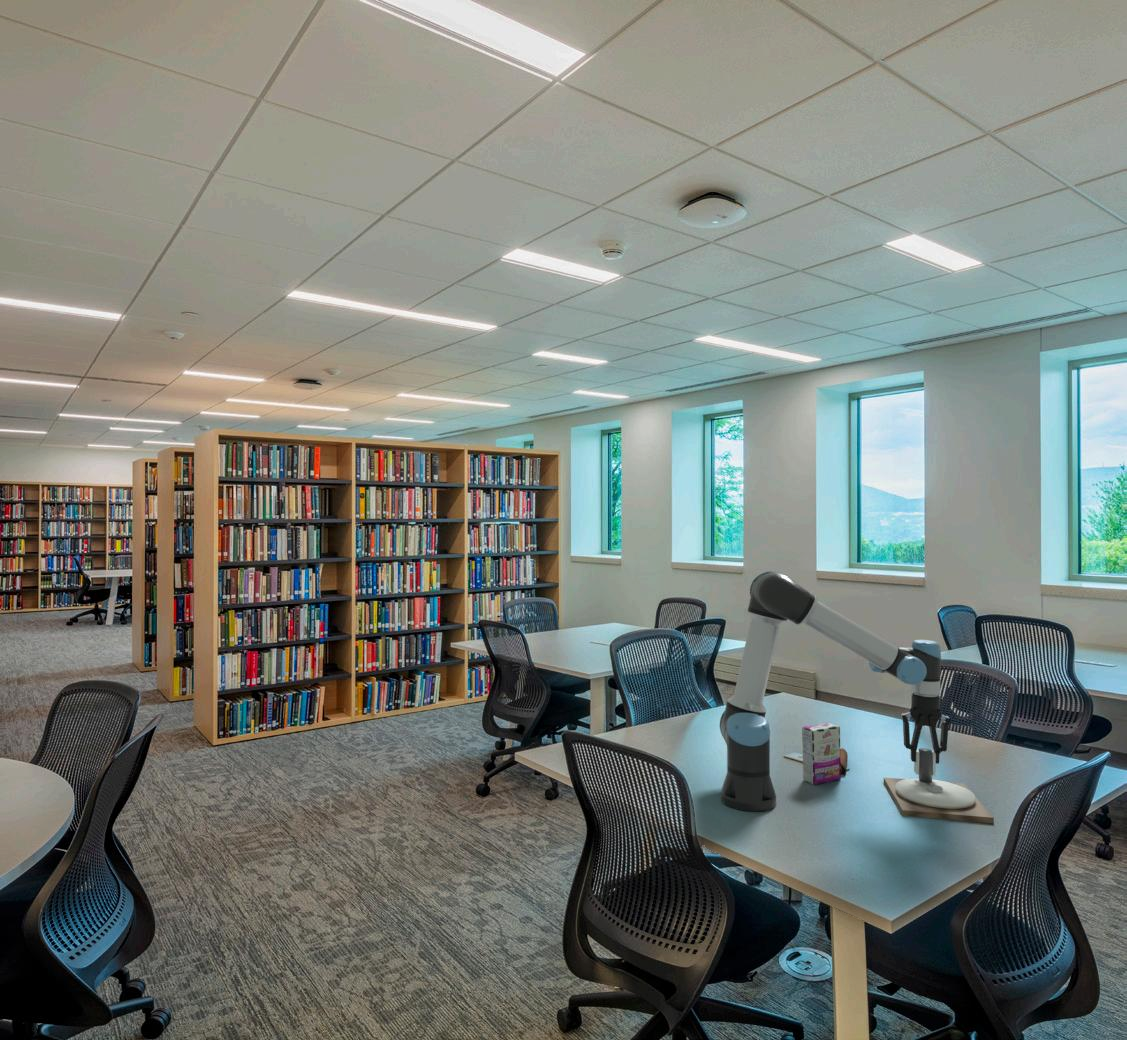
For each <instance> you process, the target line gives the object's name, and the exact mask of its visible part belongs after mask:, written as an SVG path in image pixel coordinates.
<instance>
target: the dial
mask: <svg viewBox="0 0 1127 1040" xmlns="http://www.w3.org/2000/svg"><path fill="white" fill-rule="evenodd" d="M918 751H919V774H918V778H904V779H905V780H901V781H899V782H897V783H896V792H897V794H898V795H900V796H901V797H903V798H905V799H907V800H909V801H912V802H915V803H918V804H921V805H925V806H930V807H936V808H946V809H960V808H967V807H970V806H972V805H974V804H975V797H976V794H975V793H973V792H972V790H970V789H969V788H968V789H969V790H968V789H966V788H964V787H962V786H959V785H956V784H953V783H954V782H952V783H949V781H944V780H940V779H939V780H938V779H933V775H932V751H933V750H931V749H929V748H925V747H921V748H918Z"/></svg>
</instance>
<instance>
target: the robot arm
mask: <svg viewBox="0 0 1127 1040" xmlns="http://www.w3.org/2000/svg"><path fill="white" fill-rule="evenodd" d="M750 584H751V585H750V587H749V595H750V597H749V598H750V600H749V603H748V607H747V613H748V615H749V617H750V624H749V626H748V631H747V635H746V641H745V645H744V649H743V654H742V656H741V657H742V658H741V663H740V666H739V672H738V675H737V679H736V680H737V681H736V684H735V689H734V693H733V695H731V697H729V698H727V701H726V705H725V709H724V711H723V713H722V714H721V716H720V719H719V730H720V734H721V736H722V738H723V739H724V742H725V744H726V749H727V750H726V761H727V762H726V767H727V768H726V771H727V772H726V775H725V777H724V781H723V782H722V783H723V785H722V786H721V791H720V800H721V802H722V803H723V804H724V805H726V806H727V807H730V808H732V809H736V810H741V811H747V812H764V811H768V810H771V809H773V808H775V807H776V806H777V794H776V791H775V787H774V785H773V782H772V778H771V775H770V773H771V771H770V770H771V769H770V768H771V767H770V766H771V764H770V763H771V762H770V760H771V759H770V758H771V755H770V751H771V750H770V749H771V747H770V746H771V745H770V744H771V742H770V741H771V740H770V739H771V738H770V737H771V729H770V724H769V722H768V720H767V719H766V714H767V709H766V707H765V705H764V699H765V694H766V690H767V685H768V680H769V676H770V672H771V666H772V662H773V657H774V654H775V649H776V647H777V646H776V645H777V642H778V636H779V631H780V628H781V626H782V625H783V624H785V623H787V620H788V621H790V622H792V623H794V624H795V625H797V626H799V625H804V626H806V627H808V628H810V629H811V630H814V632H816V633H818V634H820V635H822V636H823V637H825V638H827V639H828V640H830V641H833V642H834V643H836V644H837V645H839V646H841V647H843V648H844V649H846V650H848V651H849V652H851V653H853V654H854V655H856V656H858V657H860V658H862V659H863V660H865V661H867V662H868V665H869V669H870V670H871V671H872V672H873V673H881V674H883V673H885V674H889V675H891V676H893V677H894V678H895V679H897V680H899V681H901V682H902V683H903V684H906V685H911V691H912V693H911V699H910V700H911V702H910V703H911V706H910V709H909V711H908V712H905V713H904V712H901V713H900V715H899V716H900V718H901V721H902V729H903V730H902V732H903V733H902V734H903V735H902V736H903V745H904V747H905V748H906V749H908V750H910V760H911V762H913V772H914V773H915V775H919V749H918V746H919V741H920V738H921V732H922V730H923V727H926V726H927V727H928V728H929V734H930V737H931V742H932V743H931V744H932V749H933V750H932V777H933V776H934V777H936V767H937V764H939V763H940V754H941V753H942V752H946V751H947V750H948V748H947V747H948V736H949V726H950V724H951V721H952V719H951V718H950V717H949V716H948V715H944V714H942V712H941V696H940V694H941V665H942V664H941V662H942V660H941V659H942V655H941V653H942V652H941V650H942V649H941V645H940V643H939V642H937V641H935V640H930V639H929V640H928V639H915V640H913V641H912V643H911V646H907V647H903V646H901V647H900V646H897V645H895V644H893V643H891V642H889V641H888V640H886V639H885V638H882V637H881V636H879V635H877V634H876V633H874V632H872V631H870V630H868V629H867V628H865V627H863V626H861V624H859V623H856V622H854V621H853V620H851V619H849V618H848V617H846V616H845V615H843V614H841V613H839V612H837V611H835V610H833V609H832V608H830V607H829V606H827V605H825V604H824V603H822V602H820V601H818V600H817V596H816V595H815V594H813V593H812V592H810V591H808V590H806V589H805V588H804V587H803V586H801V585H800V584H799V583H797V582H796V581H795V580H793V579H792V578H791V577H789V576H788V575H785V574H783V573H779V572H777V571H771V570H770V571H764V572H762V573H759V574H758V575H757V576H755V578H754V579H753V580H752V581H751V583H750ZM911 717H912V719H913V720H914V722H915V723H914V729H913V733H912V737H910V735H911V733H910V721H911ZM939 720H940V722H941V724H940V725H941V727H940V741H939V739H938V738H939V737H938V734H937V727H936V724H937V723H938V721H939Z"/></svg>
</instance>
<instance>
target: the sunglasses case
mask: <svg viewBox="0 0 1127 1040" xmlns="http://www.w3.org/2000/svg"><path fill="white" fill-rule="evenodd" d="M840 757H841V758H840V759H841V776H845V775H846V773H847V767H848V765H847V763H848V752H847V750H846V749H844V748H842V747H841V748H840Z"/></svg>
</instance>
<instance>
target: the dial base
mask: <svg viewBox="0 0 1127 1040" xmlns="http://www.w3.org/2000/svg"><path fill="white" fill-rule="evenodd" d="M905 779H906V778H894V777H883V784H884V786H885V788H886V790H887V791H888V792H889V795H890V796H891V798H892V799H893V801H894V804H895V805H896V807H897V809H898V810H899V812H900V814H901V816H903V817H913V818H914V817H915V818H926V819H936V820H937V819H938V820H939V819H940V820H949V821H960V822H974V823H975V822H976V823H983V824H984V823H986V824H994V822H995V821H994V820H995V819H994V817H993V815H992V814H991V813H990V811H988V809H986V807H985V806H984V805H983V804H982V803H981V802H980V800H979V799H978V798H977V797H976V796H975V804H974V805H972V806H970V807H967V808H960V809H946V808H936V807H930V806H925V805H921V804H918V803H915V802H912V801H909V800H907V799H905V798H903V797H901V796H900V795H898V794H897V792H896V783H897V782H899V781H901V780H905ZM948 782H949V781H948ZM949 783H953V784H956V785H959V786H962V787H964V788H966V789H968V790H970V789H969V787H967V786H966V784H965V783H961V782H952V781H951V782H949Z"/></svg>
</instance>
